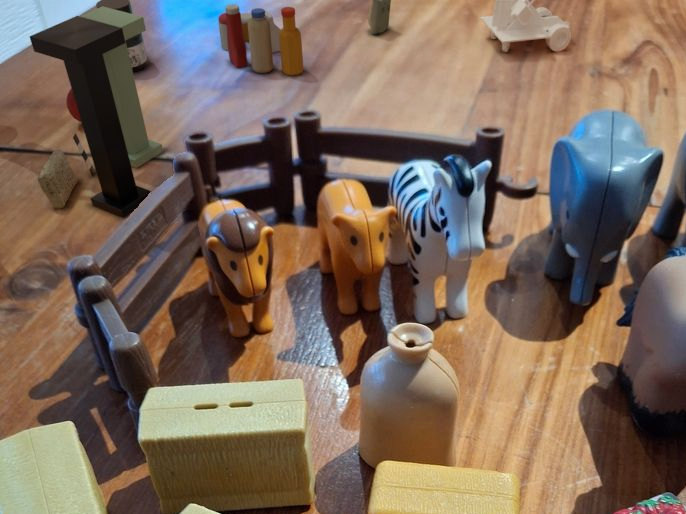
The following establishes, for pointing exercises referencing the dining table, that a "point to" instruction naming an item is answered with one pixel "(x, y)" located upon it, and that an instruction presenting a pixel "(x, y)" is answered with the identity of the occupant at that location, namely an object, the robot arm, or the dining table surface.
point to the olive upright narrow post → (379, 16)
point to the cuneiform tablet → (60, 176)
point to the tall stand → (95, 105)
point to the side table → (126, 85)
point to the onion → (72, 106)
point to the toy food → (261, 39)
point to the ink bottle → (135, 43)
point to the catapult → (526, 24)
